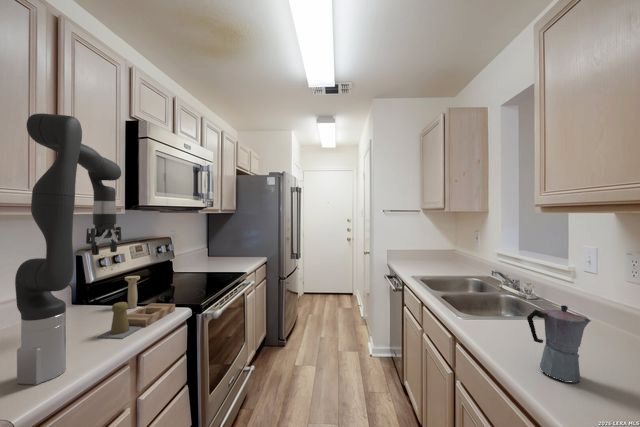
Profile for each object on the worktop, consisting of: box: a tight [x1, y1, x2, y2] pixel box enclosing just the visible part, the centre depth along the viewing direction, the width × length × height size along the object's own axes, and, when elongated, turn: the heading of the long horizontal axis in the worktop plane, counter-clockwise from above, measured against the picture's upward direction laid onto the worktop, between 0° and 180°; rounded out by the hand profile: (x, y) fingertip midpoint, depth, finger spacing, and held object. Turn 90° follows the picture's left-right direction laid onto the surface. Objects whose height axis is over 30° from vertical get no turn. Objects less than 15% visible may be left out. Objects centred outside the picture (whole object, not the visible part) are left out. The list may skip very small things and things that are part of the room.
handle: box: [124, 275, 141, 309], centre depth 140 cm, size 5×6×15 cm
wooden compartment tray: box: [127, 302, 176, 328], centre depth 127 cm, size 20×12×3 cm, turn 175°
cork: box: [110, 301, 130, 335], centre depth 111 cm, size 6×6×11 cm
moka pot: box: [526, 305, 592, 382], centre depth 82 cm, size 10×15×20 cm, turn 81°
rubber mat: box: [96, 326, 143, 340], centre depth 111 cm, size 10×10×1 cm
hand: (104, 253), depth 115 cm, fingers open, 8 cm apart
